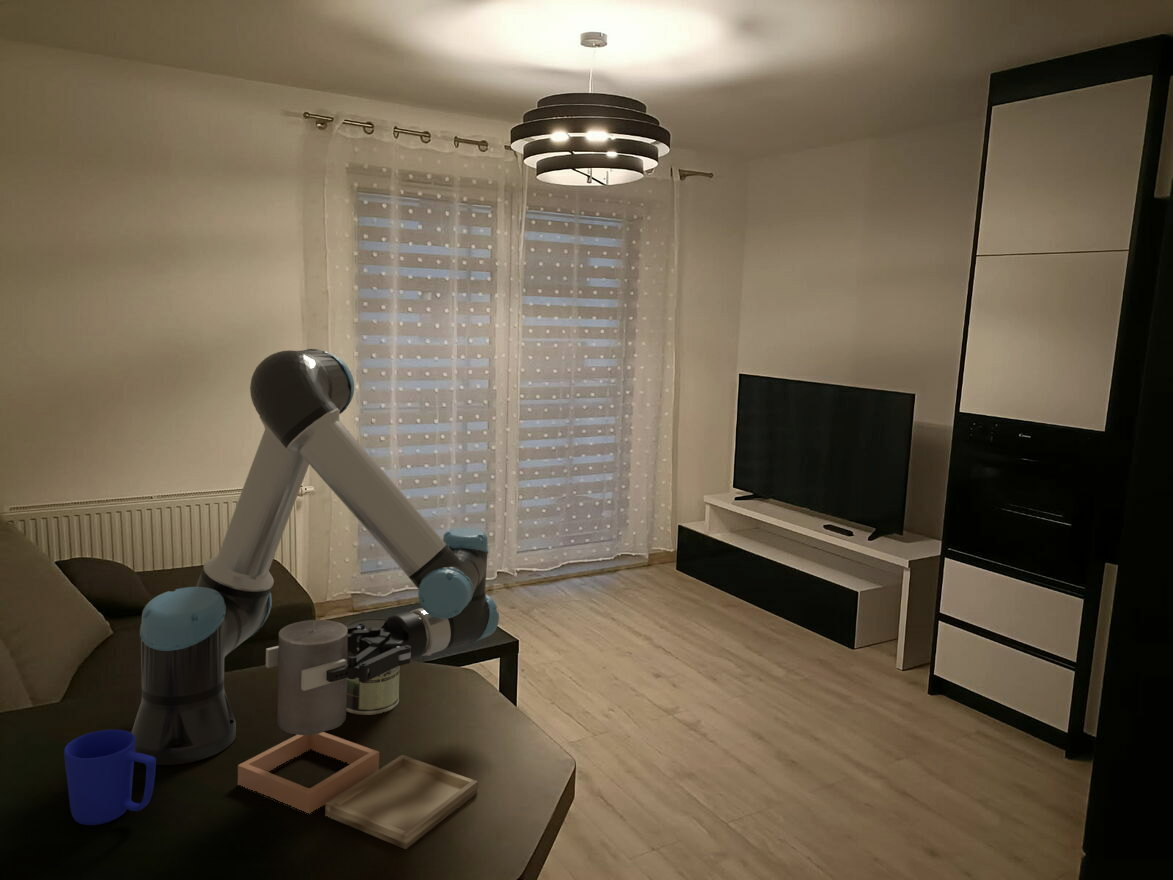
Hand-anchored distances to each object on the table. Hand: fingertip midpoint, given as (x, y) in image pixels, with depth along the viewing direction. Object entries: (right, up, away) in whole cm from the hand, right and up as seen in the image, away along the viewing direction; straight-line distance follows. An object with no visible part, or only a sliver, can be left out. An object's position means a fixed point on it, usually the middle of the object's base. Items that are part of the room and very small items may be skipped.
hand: (284, 669), depth 118 cm
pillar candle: (+2, -9, +4) cm, 10 cm away
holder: (+2, -18, +5) cm, 18 cm away
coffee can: (+4, -15, +31) cm, 35 cm away
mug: (-20, -18, -7) cm, 28 cm away
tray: (+17, -19, 0) cm, 25 cm away
